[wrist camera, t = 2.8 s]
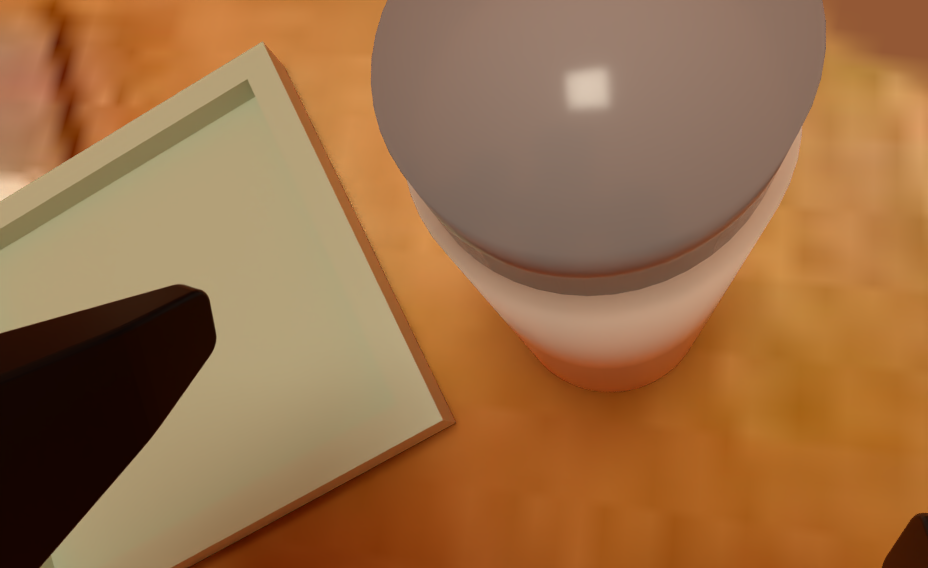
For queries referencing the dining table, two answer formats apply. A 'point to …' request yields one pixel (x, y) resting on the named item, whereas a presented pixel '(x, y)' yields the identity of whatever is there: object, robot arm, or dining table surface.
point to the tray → (225, 313)
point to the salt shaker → (598, 158)
